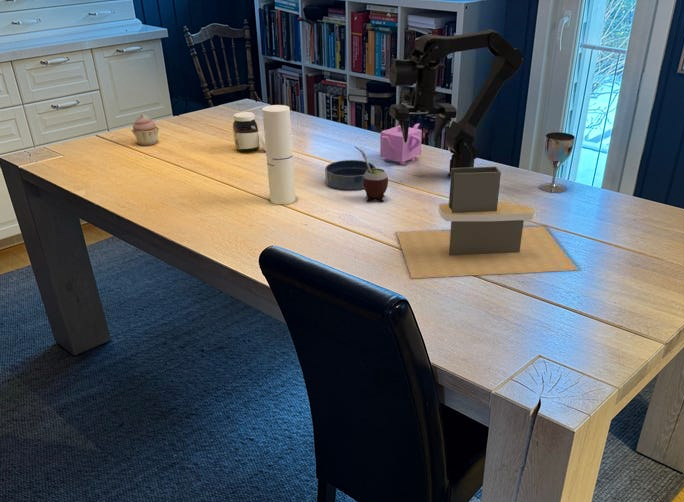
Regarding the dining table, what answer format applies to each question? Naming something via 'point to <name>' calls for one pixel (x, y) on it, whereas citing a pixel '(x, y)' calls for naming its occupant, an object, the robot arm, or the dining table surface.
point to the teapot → (400, 144)
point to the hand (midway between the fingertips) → (420, 141)
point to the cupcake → (145, 131)
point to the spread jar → (247, 133)
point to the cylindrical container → (279, 153)
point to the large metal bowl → (346, 174)
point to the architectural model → (482, 234)
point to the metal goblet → (557, 155)
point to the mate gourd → (374, 182)
